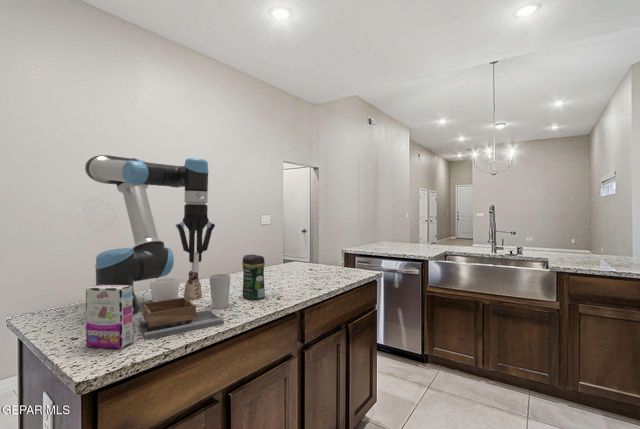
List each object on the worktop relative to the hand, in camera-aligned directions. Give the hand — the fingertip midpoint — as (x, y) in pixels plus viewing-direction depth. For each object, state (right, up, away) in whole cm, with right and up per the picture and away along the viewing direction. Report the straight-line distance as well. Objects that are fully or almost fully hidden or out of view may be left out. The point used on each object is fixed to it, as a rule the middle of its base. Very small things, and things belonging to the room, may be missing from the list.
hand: (195, 271), depth 114 cm
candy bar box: (-15, -17, -23) cm, 32 cm away
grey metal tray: (-2, -16, -7) cm, 18 cm away
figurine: (-12, -16, +28) cm, 34 cm away
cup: (+4, -16, +15) cm, 22 cm away
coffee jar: (+15, -16, +27) cm, 35 cm away
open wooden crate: (-5, -14, -9) cm, 18 cm away
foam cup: (-11, -17, +2) cm, 20 cm away
